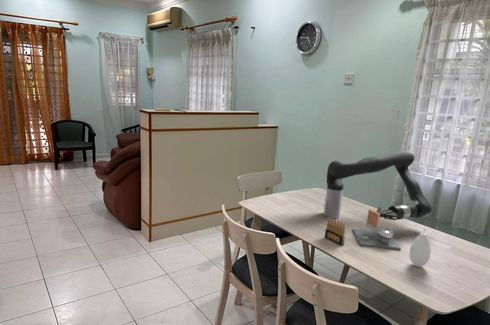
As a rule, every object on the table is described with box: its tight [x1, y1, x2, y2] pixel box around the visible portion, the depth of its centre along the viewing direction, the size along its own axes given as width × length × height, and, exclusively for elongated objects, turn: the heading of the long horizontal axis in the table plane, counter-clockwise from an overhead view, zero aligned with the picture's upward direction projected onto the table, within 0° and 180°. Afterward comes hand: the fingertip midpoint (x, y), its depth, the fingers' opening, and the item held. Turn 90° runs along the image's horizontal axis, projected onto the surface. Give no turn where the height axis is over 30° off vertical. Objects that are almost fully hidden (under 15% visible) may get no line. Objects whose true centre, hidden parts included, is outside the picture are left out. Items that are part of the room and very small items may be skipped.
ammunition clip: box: [323, 216, 346, 247], centre depth 162 cm, size 11×2×12 cm, turn 37°
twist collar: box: [365, 208, 394, 239], centre depth 166 cm, size 16×7×10 cm, turn 25°
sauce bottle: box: [409, 228, 432, 268], centre depth 143 cm, size 8×8×18 cm
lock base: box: [352, 228, 402, 251], centre depth 168 cm, size 19×18×4 cm
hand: (374, 215), depth 170 cm, fingers closed
